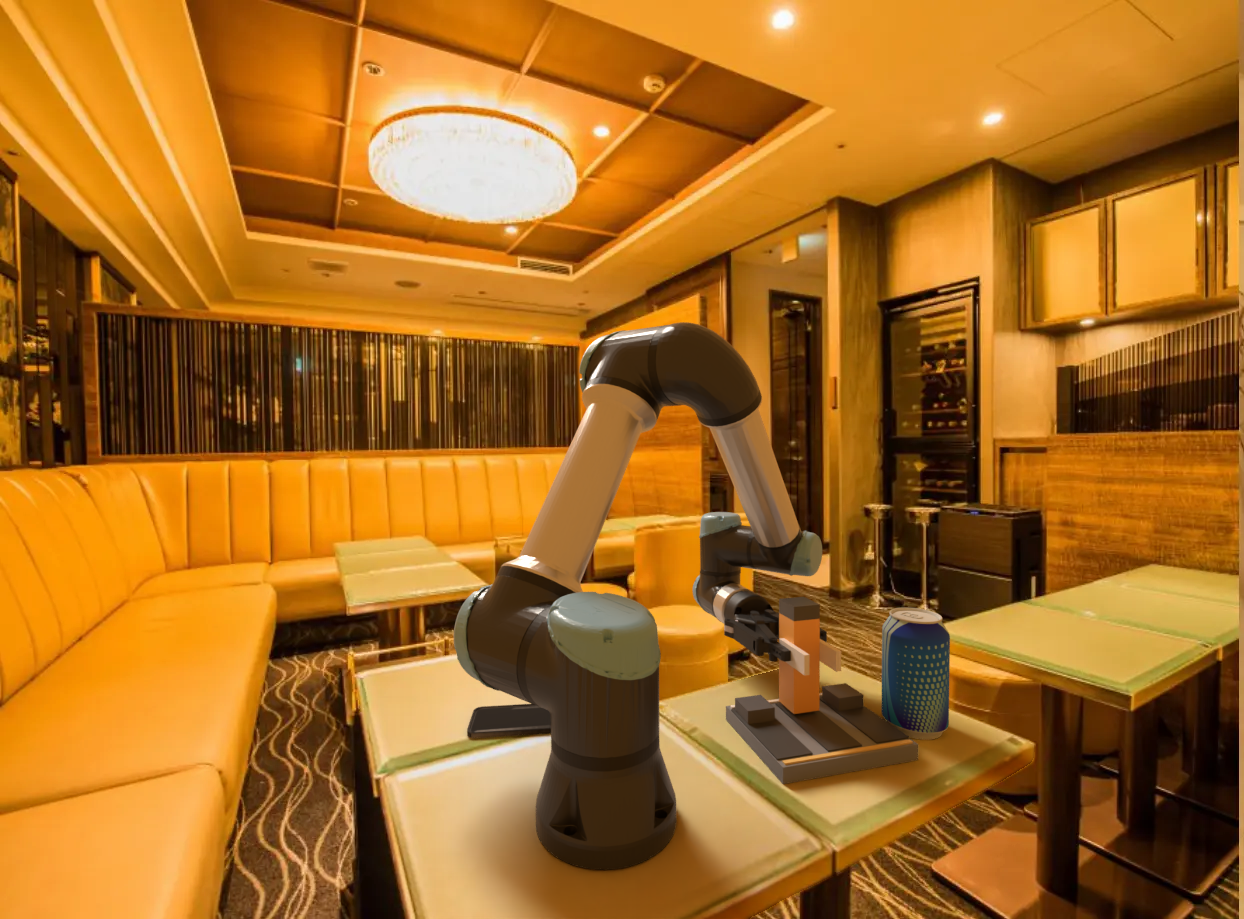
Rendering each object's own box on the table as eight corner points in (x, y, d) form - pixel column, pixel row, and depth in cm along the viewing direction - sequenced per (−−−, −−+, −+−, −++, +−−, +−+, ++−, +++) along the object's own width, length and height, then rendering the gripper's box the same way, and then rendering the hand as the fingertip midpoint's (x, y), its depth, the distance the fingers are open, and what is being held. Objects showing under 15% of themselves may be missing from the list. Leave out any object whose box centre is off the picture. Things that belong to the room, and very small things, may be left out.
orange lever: (793, 714, 80) (793, 606, 79) (779, 701, 83) (779, 598, 83) (819, 710, 81) (819, 604, 80) (803, 697, 84) (803, 596, 84)
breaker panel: (782, 784, 68) (782, 750, 68) (725, 719, 84) (725, 692, 83) (918, 759, 73) (918, 728, 73) (840, 703, 88) (840, 677, 88)
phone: (575, 726, 81) (465, 733, 79) (575, 734, 81) (465, 741, 79) (574, 700, 88) (474, 706, 87) (574, 708, 88) (474, 713, 87)
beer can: (932, 713, 85) (933, 606, 84) (960, 744, 76) (961, 624, 76) (873, 711, 85) (873, 605, 85) (894, 741, 77) (895, 623, 76)
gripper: (788, 628, 101) (878, 683, 78) (696, 637, 97) (764, 699, 74) (788, 586, 101) (878, 629, 78) (696, 593, 96) (764, 641, 74)
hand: (822, 663), depth 76 cm, fingers closed on orange lever, 4 cm apart
